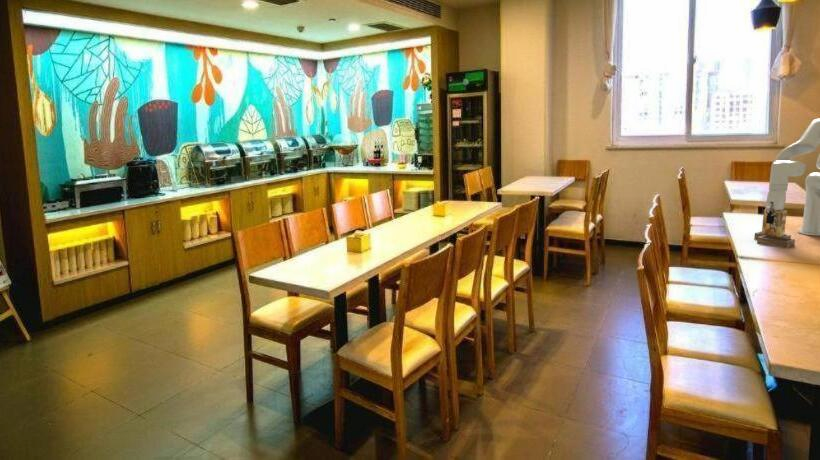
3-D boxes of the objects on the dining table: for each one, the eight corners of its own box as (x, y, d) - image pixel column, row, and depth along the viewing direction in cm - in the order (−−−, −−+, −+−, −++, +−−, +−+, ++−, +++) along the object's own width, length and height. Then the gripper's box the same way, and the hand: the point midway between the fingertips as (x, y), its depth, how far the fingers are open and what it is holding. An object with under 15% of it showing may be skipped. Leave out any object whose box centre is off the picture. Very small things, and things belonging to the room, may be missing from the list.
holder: (762, 236, 282) (762, 230, 282) (801, 243, 268) (802, 237, 267) (746, 241, 274) (746, 235, 273) (786, 248, 259) (787, 242, 258)
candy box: (783, 241, 272) (787, 210, 269) (779, 242, 270) (783, 211, 267) (764, 237, 280) (767, 208, 276) (760, 239, 277) (763, 209, 274)
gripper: (778, 184, 277) (774, 218, 281) (761, 188, 268) (757, 223, 271) (794, 186, 271) (790, 221, 275) (778, 190, 262) (773, 225, 265)
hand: (774, 222), depth 273 cm, fingers open, 8 cm apart
